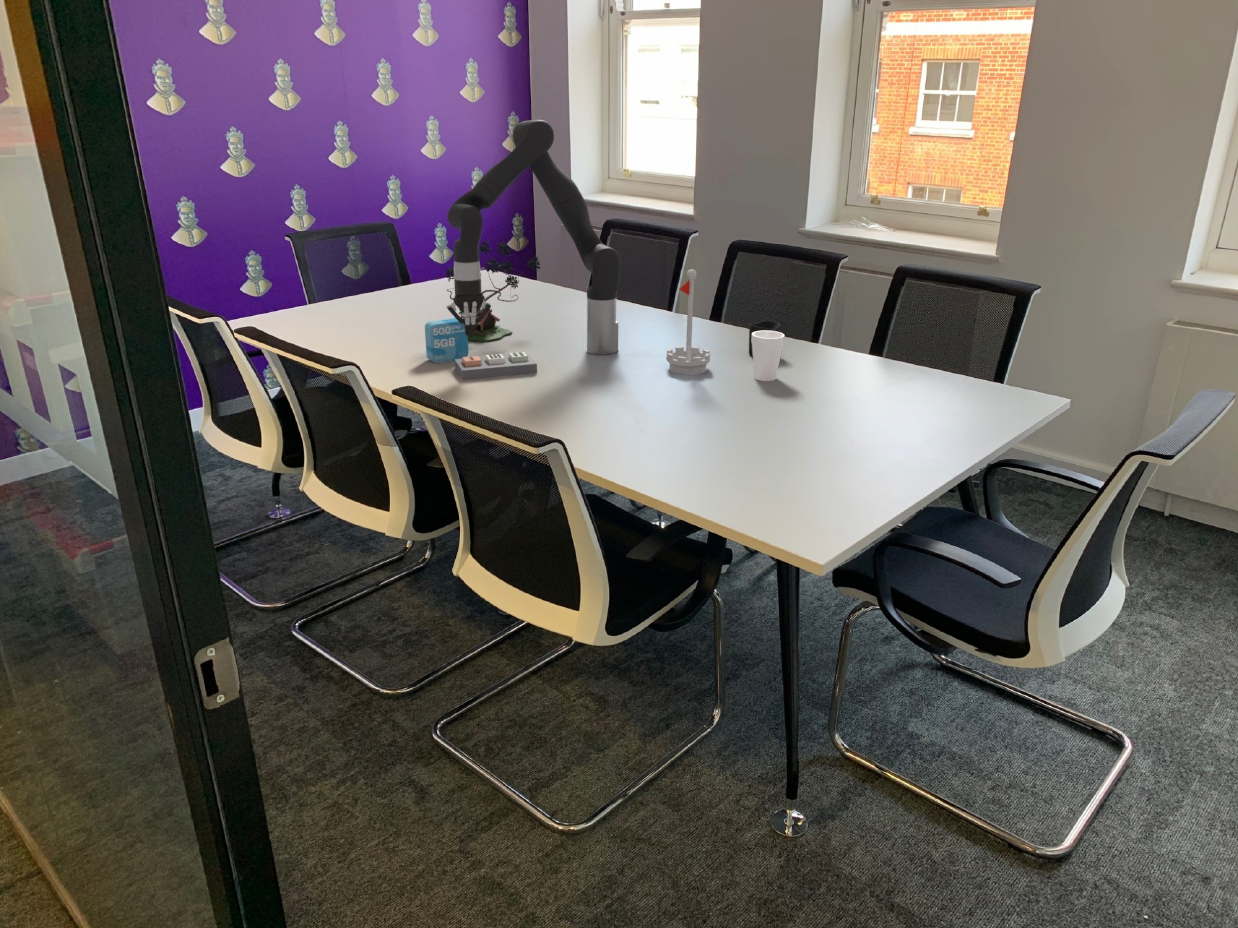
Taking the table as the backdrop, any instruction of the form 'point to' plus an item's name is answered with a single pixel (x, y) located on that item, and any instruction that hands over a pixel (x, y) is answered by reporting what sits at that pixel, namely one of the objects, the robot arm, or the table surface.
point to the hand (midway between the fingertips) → (470, 336)
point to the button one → (471, 361)
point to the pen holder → (759, 327)
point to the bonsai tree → (487, 326)
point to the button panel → (495, 369)
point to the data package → (445, 340)
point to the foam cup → (766, 353)
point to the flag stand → (688, 341)
